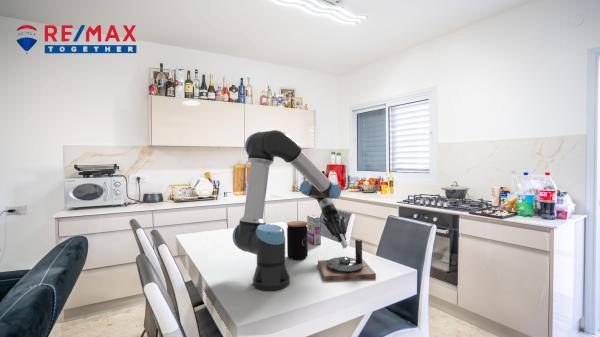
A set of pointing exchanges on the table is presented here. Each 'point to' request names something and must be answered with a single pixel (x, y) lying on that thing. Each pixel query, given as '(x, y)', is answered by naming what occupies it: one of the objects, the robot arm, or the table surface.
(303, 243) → the coffee jar
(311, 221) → the candy bar box
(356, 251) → the capstan turntable
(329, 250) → the table surface
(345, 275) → the walnut base
